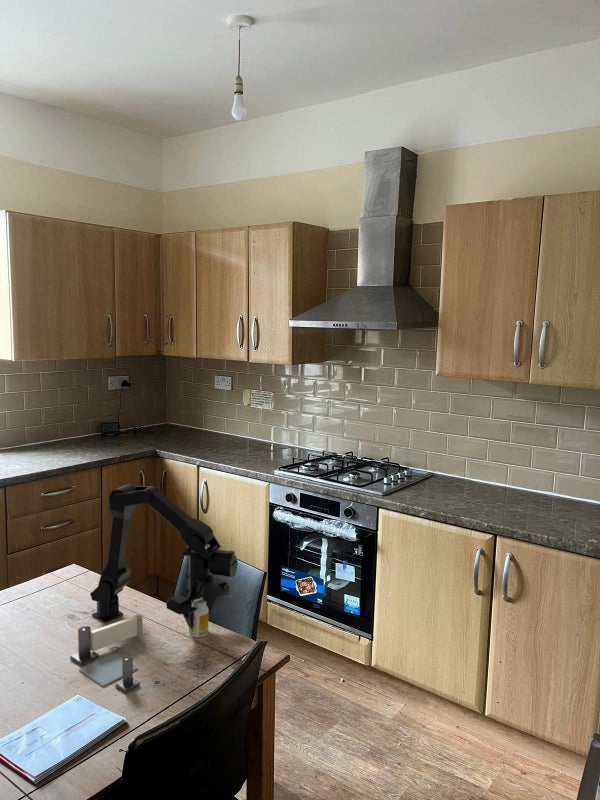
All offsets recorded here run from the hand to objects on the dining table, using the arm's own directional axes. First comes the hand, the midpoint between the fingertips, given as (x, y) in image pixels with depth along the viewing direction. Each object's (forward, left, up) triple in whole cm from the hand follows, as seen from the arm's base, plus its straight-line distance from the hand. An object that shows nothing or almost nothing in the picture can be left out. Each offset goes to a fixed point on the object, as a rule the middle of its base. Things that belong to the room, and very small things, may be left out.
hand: (198, 624), depth 168 cm
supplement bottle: (0, 0, -3) cm, 3 cm away
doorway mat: (-3, -27, -2) cm, 27 cm away
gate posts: (-3, -28, -3) cm, 28 cm away
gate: (-11, -19, -1) cm, 22 cm away
